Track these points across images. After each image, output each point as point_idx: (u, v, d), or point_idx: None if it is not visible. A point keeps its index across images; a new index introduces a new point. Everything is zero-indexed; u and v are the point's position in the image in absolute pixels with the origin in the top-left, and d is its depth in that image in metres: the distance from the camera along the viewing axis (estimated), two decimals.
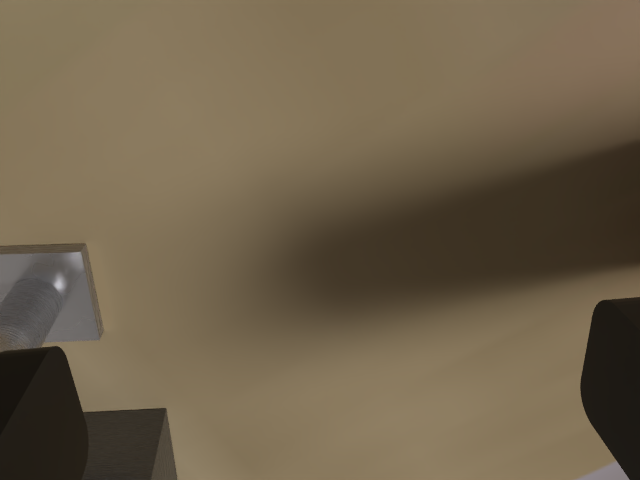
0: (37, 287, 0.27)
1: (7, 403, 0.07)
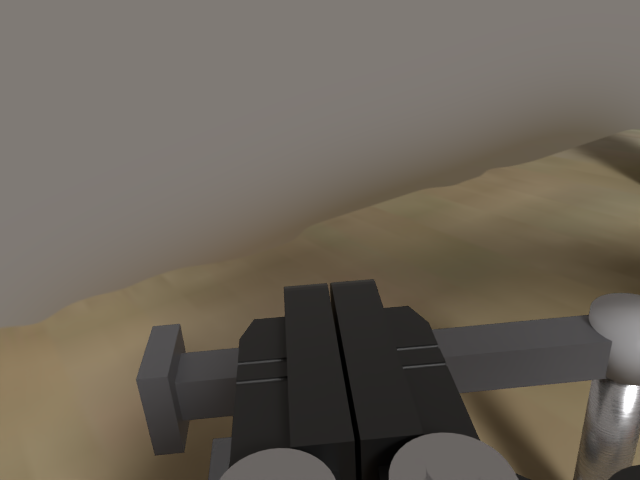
0: None
1: (323, 323, 0.08)
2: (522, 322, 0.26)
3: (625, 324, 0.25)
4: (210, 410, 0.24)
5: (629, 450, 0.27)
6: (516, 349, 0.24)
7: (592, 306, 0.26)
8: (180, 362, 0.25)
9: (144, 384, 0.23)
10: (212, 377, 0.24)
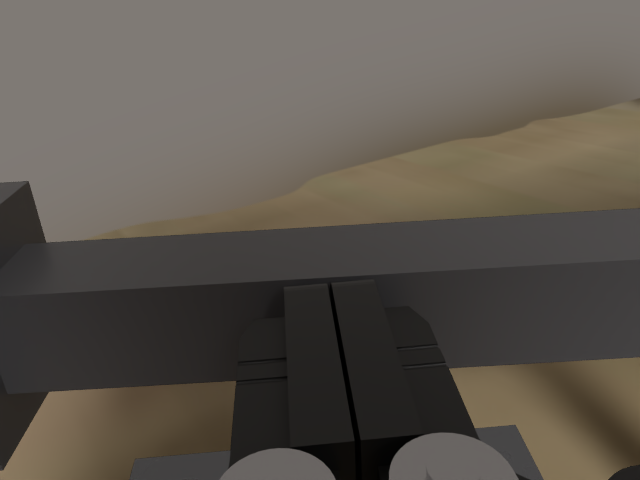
0: None
1: (323, 323, 0.08)
2: None
3: None
4: (70, 372, 0.10)
5: None
6: None
7: None
8: (12, 259, 0.11)
9: None
10: (69, 287, 0.10)
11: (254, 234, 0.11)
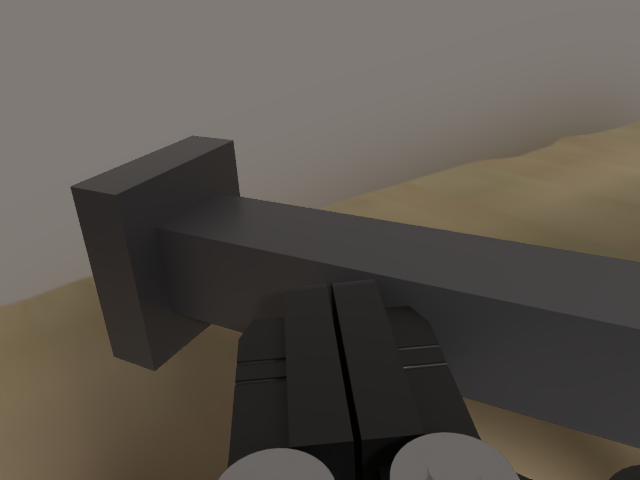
0: None
1: (322, 323, 0.08)
2: None
3: None
4: (215, 308, 0.12)
5: None
6: None
7: None
8: (200, 203, 0.13)
9: (83, 201, 0.11)
10: (221, 236, 0.11)
11: (400, 227, 0.11)
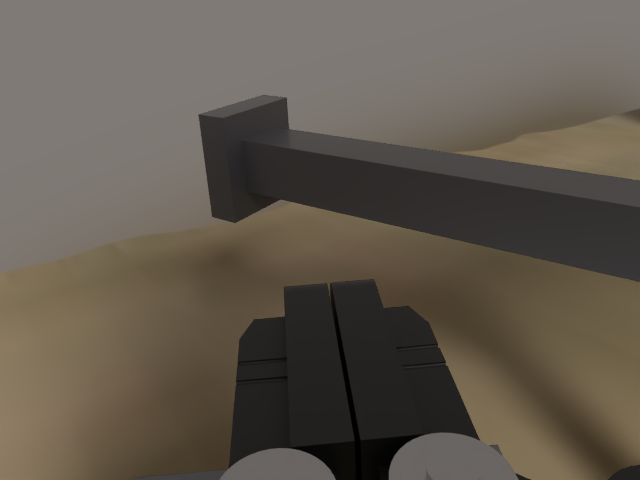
0: None
1: (323, 323, 0.08)
2: None
3: None
4: (270, 187, 0.21)
5: None
6: None
7: None
8: (266, 131, 0.22)
9: (204, 122, 0.21)
10: (276, 144, 0.21)
11: (372, 143, 0.20)
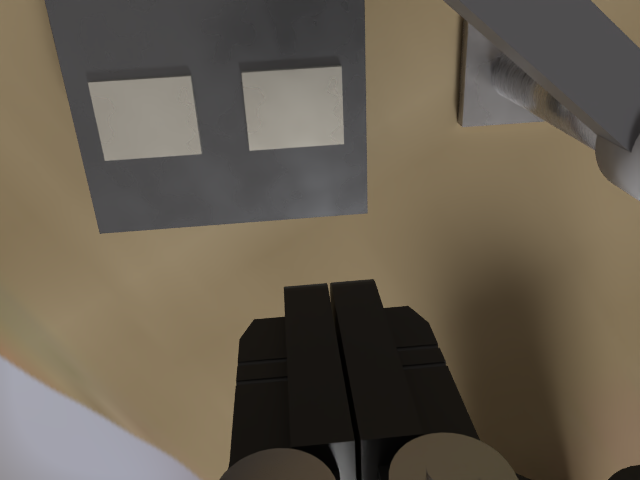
0: None
1: (323, 323, 0.08)
2: (611, 26, 0.15)
3: None
4: None
5: None
6: (534, 63, 0.15)
7: None
8: None
9: None
10: None
11: None
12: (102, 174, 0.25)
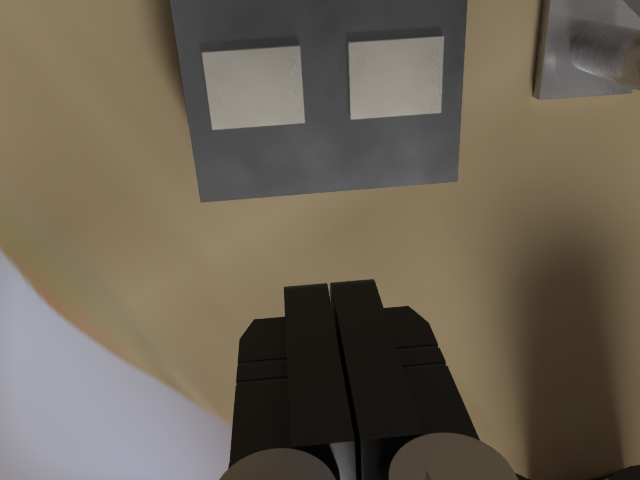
0: None
1: (323, 323, 0.08)
2: None
3: None
4: None
5: None
6: None
7: None
8: None
9: None
10: None
11: None
12: (207, 143, 0.26)
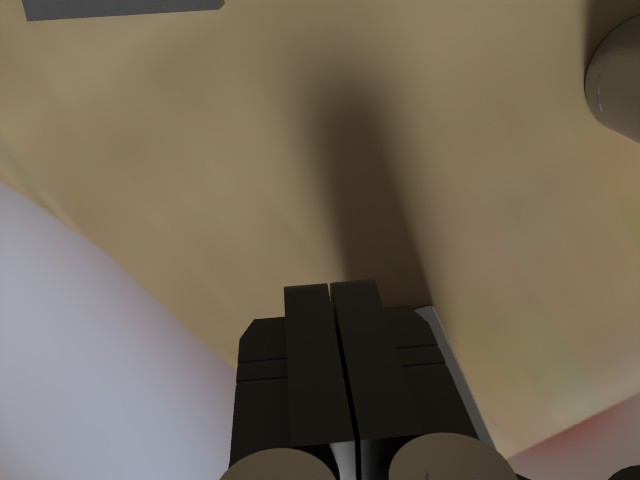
0: None
1: (323, 323, 0.08)
2: None
3: None
4: None
5: None
6: None
7: None
8: None
9: None
10: None
11: None
12: None
